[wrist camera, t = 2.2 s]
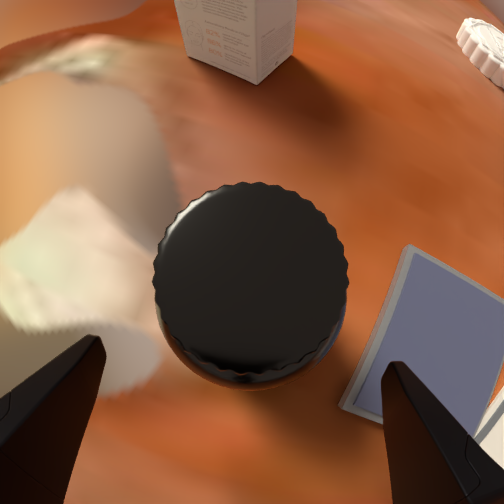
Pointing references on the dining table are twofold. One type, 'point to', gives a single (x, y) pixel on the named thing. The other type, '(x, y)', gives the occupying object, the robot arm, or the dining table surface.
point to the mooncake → (483, 48)
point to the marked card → (493, 430)
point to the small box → (239, 34)
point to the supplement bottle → (250, 286)
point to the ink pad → (433, 340)
